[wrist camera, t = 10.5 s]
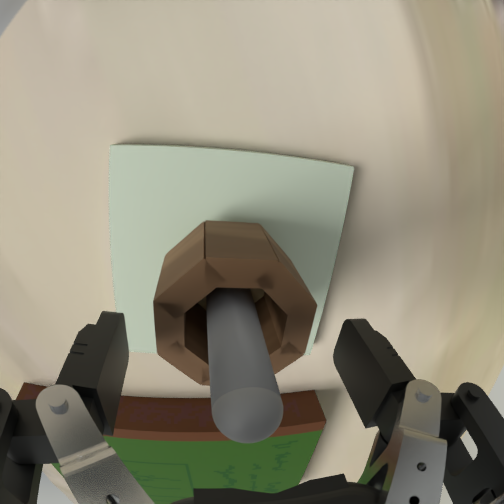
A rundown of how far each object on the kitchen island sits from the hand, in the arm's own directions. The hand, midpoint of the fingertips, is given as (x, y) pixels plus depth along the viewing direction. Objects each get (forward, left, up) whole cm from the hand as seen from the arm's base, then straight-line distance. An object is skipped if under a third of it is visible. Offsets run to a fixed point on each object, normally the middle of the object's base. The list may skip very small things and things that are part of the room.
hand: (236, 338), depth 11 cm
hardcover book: (+21, -4, -8) cm, 23 cm away
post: (0, 0, -7) cm, 7 cm away
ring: (0, 0, -5) cm, 5 cm away
